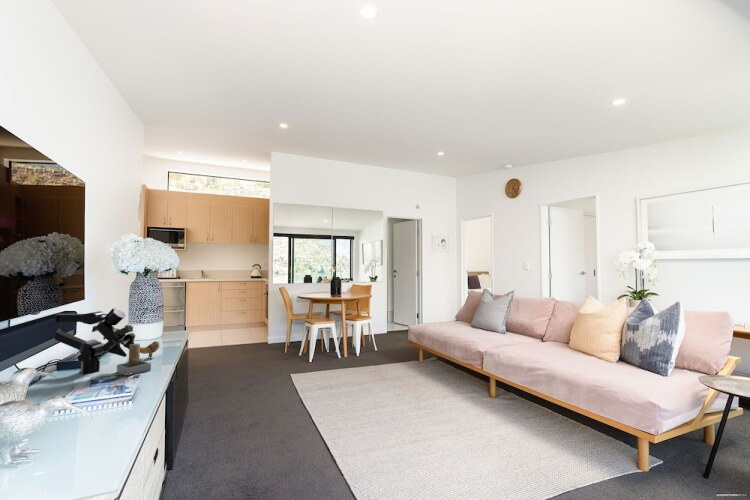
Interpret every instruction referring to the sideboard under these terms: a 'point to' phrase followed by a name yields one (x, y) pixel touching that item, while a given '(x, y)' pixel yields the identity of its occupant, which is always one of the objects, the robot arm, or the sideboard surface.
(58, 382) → the sideboard surface
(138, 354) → the walnut handle
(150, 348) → the lion figurine
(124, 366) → the box
